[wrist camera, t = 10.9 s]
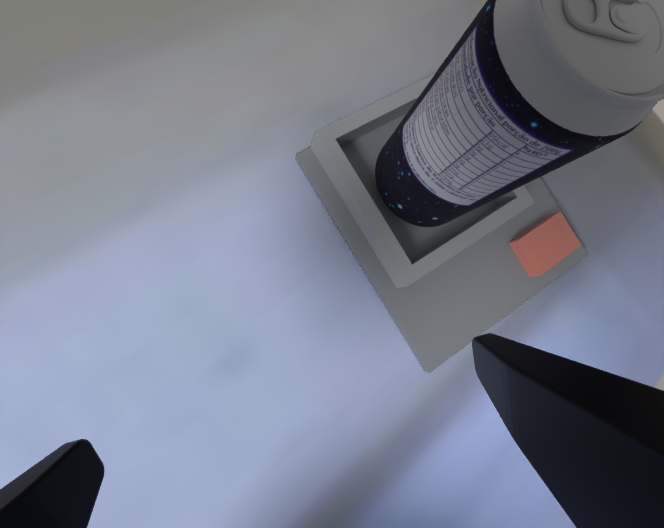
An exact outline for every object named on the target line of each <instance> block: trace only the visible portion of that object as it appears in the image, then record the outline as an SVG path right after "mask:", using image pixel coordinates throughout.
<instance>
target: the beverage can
mask: <svg viewBox="0 0 664 528" xmlns="http://www.w3.org/2000/svg"><path fill="white" fill-rule="evenodd" d="M662 99H664V0H488V1H487V2H486V3H485V5H484V6H483V8H482V9H481V10H480V12H479V13H478V15H477V16H476V17H475V19H474V20H473V22H472V23H471V24H470V26H469V27H468V29H467V30H466V31H465V33H464V34H463V36H462V37H461V38H460V40H459V41H458V43H457V44H456V45H455V47H454V48H453V50H452V51H451V52H450V54H449V55H448V57H447V58H446V59H445V61H444V62H443V64H442V65H441V66H440V68H439V69H438V71H437V72H436V73H435V75H434V76H433V78H432V79H431V80H430V82H429V83H428V85H427V86H426V87H425V89H424V90H423V92H422V93H421V94H420V96H419V97H418V99H417V100H416V101H415V103H414V104H413V106H412V107H411V108H410V110H409V111H408V113H407V114H406V115H405V117H404V118H403V120H402V121H401V122H400V124H399V125H398V127H397V128H396V129H395V131H394V132H393V134H392V135H391V136H390V138H389V139H388V141H387V142H386V143H385V145H384V146H383V148H382V149H381V151H380V153H379V155H378V158H377V161H376V166H375V179H376V185H377V188H378V191H379V194H380V196H381V198H382V200H383V201H384V203H385V204H386V206H387V207H388V208H389V209H390V210H391V211H392V212H393V213H394V214H395V215H396V216H397V217H399V218H400V219H402V220H403V221H405V222H407V223H410V224H412V225H416V226H420V227H436V226H440V225H443V224H446V223H448V222H450V221H452V220H454V219H456V218H458V217H460V216H462V215H464V214H466V213H468V212H470V211H472V210H474V209H476V208H478V207H480V206H482V205H484V204H486V203H488V202H490V201H492V200H494V199H496V198H498V197H500V196H503V195H505V194H507V193H509V192H511V191H513V190H515V189H517V188H519V187H521V186H523V185H525V184H527V183H529V182H531V181H533V180H535V179H537V178H539V177H541V176H543V175H545V174H547V173H549V172H551V171H553V170H555V169H557V168H559V167H561V166H563V165H565V164H567V163H569V162H571V161H573V160H575V159H577V158H580V157H582V156H584V155H586V154H588V153H590V152H592V151H594V150H596V149H598V148H600V147H602V146H604V145H606V144H608V143H610V142H612V141H614V140H616V139H618V138H620V137H622V136H624V135H626V134H627V133H629V132H631V131H632V130H633V129H634V128H636V127H637V126H638V125H639V124H640V123H641V122H642V120H643V119H644V118H645V117H646V116H647V115H648V113H649V112H650V111H651V110H652V108H653V107H654V106H655V104H656V103H657V102H658V101H660V100H662Z"/></svg>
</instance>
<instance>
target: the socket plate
mask: <svg viewBox="0 0 664 528" xmlns="http://www.w3.org/2000/svg"><path fill="white" fill-rule="evenodd" d="M434 75H435V73H434V74H432V75H430V76H428V77H426V78H424V79H422V80H420V81H418V82H416V83H414V84H412V85H410V86H408V87H406V88H404V89H402V90H400V91H397V92H395V93H393V94H391V95H389V96H387V97H385V98H383V99H381V100H379V101H377V102H375V103H373V104H371V105H369V106H367V107H365V108H363V109H360V110H358V111H356V112H354V113H352V114H350V115H348V116H346V117H344V118H342V119H340V120H338V121H336V122H334V123H332V124H330V125H328V126H326V127H324V128H321V129H319V130H317V131H315V132H314V134H313V138H312V142H311V145H310V147H308V148H306V149H304V150H302V151H300V152H298V153H296V157H295V159H296V160H297V162H298V164H299V165H300V167H301V168H302V170H303V172H304V173H305V175H306V177H307V178H308V180H309V182H310V183H311V185H312V187H313V188H314V190H315V191H316V193H317V195H318V196H319V198H320V200H321V201H322V203H323V205H324V206H325V208H326V210H327V211H328V213H329V214H330V216H331V218H332V219H333V221H334V223H335V224H336V226H337V228H338V229H339V231H340V233H341V234H342V236H343V237H344V239H345V241H346V242H347V244H348V246H349V247H350V249H351V251H352V252H353V254H354V256H355V257H356V259H357V260H358V262H359V264H360V265H361V267H362V269H363V270H364V272H365V274H366V275H367V277H368V279H369V280H370V282H371V284H372V285H373V287H374V288H375V290H376V292H377V293H378V295H379V297H380V298H381V300H382V302H383V303H384V305H385V307H386V308H387V310H388V311H389V313H390V315H391V316H392V318H393V320H394V321H395V323H396V325H397V326H398V328H399V330H400V331H401V333H402V334H403V336H404V338H405V339H406V341H407V343H408V344H409V346H410V348H411V349H412V351H413V353H414V354H415V356H416V357H417V359H418V361H419V362H420V364H421V366H422V367H423V369H424V371H426V372H429V373H430V372H431V371H433V370H434V369H435V368H437V367H438V366H439V365H441V364H442V363H443V362H445V361H446V360H447V359H449V358H450V357H451V356H453V355H454V354H455V353H457V352H458V351H459V350H461V349H462V348H463V347H465V346H466V345H467V344H469V343H470V342H471V341H472V339H473V338H474V337H476V336H479V335H481V334H482V333H483V332H485V331H486V330H487V329H489V328H490V327H492V326H493V325H494V324H496V323H497V322H498V321H500V320H501V319H502V318H504V317H505V316H506V315H508V314H509V313H510V312H512V311H513V310H514V309H516V308H517V307H518V306H520V305H521V304H522V303H524V302H525V301H526V300H528V299H529V298H530V297H532V296H533V295H534V294H536V293H537V292H538V291H540V290H541V289H542V288H544V287H545V286H546V285H548V284H549V283H550V282H552V281H553V280H555V279H556V278H557V277H559V276H560V275H561V274H563V273H564V272H565V271H567V270H568V269H569V268H571V267H572V266H573V265H575V264H576V263H577V262H579V261H580V260H581V259H583V258H584V257H585V256H587V255H588V253H587V251H586V250H585V248H584V247H583V245H582V243H581V242H580V240H579V239H578V237H577V235H576V234H575V232H574V231H573V229H572V227H571V226H570V224H569V223H568V221H567V219H566V218H565V216H564V215H563V213H562V211H561V210H560V208H559V207H558V205H557V203H556V202H555V200H554V199H553V197H552V195H551V194H550V192H549V190H548V189H547V187H546V186H545V184H544V182H543V181H542V179H541V178H540V177H539V178H537V179H535V180H533V181H531V182H529V183H527V184H525V185H523V186H521V187H519V188H517V189H515V190H513V191H511V192H509V193H507V194H505V195H503V196H500V197H498V198H496V199H494V200H492V201H490V202H488V203H486V204H484V205H482V206H480V207H478V208H476V209H474V210H472V211H470V212H468V213H466V214H464V215H462V216H460V217H458V218H456V219H454V220H452V221H450V222H448V223H446V224H443V225H440V226H436V227H420V226H416V225H412V224H410V223H407V222H405V221H403V220H402V219H400V218H399V217H397V216H396V215H395V214H394V213H393V212H392V211H391V210H390V209H389V208H388V207H387V206H386V204H385V203H384V201H383V200H382V198H381V196H380V194H379V191H378V188H377V185H376V179H375V166H376V161H377V158H378V155H379V153H380V151H381V149H382V148H383V146H384V145H385V143H386V142H387V141H388V139H389V138H390V136H391V135H392V134H393V132H394V131H395V129H396V128H397V127H398V125H399V124H400V122H401V121H402V120H403V118H404V117H405V115H406V114H407V113H408V111H409V110H410V108H411V107H412V106H413V104H414V103H415V101H416V100H417V99H418V97H419V96H420V94H421V93H422V92H423V90H424V89H425V87H426V86H427V85H428V83H429V82H430V80H431V79H432V78H433V76H434Z"/></svg>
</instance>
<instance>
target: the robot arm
mask: <svg viewBox="0 0 664 528" xmlns="http://www.w3.org/2000/svg"><path fill="white" fill-rule="evenodd" d="M472 348H473V356H474V363H475V370H476V373H477V376H478V378H479V380H480V381H481V383H482V385H483V387H484V388H485V390H486V392H487V394H488V396H489V397H490V399H491V401H492V403H493V404H494V406H495V408H496V410H497V411H498V413H499V415H500V417H501V418H502V420H503V422H504V424H505V425H506V427H507V429H508V431H509V432H510V434H511V436H512V437H513V439H514V440H515V442H516V443H517V445H518V446H519V448H520V449H521V451H522V452H523V454H524V455H525V456H526V458H527V459H528V461H529V462H530V463H531V465H532V466H533V468H534V469H535V470H536V472H537V473H538V474H539V476H540V477H541V479H542V480H543V481H544V483H545V484H546V486H547V487H548V488H549V490H550V491H551V493H552V494H553V495H554V497H555V498H556V500H557V501H558V502H559V504H560V505H561V507H562V508H563V509H564V511H565V512H566V514H567V515H568V516H569V518H570V519H571V521H572V522H573V523H574V525H575V526H576V528H664V391H663V390H659V389H657V388H654V387H651V386H648V385H645V384H642V383H639V382H636V381H633V380H630V379H627V378H624V377H621V376H618V375H615V374H612V373H609V372H606V371H603V370H600V369H597V368H594V367H591V366H588V365H585V364H582V363H579V362H576V361H573V360H570V359H567V358H564V357H561V356H558V355H555V354H552V353H549V352H546V351H543V350H540V349H537V348H534V347H531V346H528V345H525V344H522V343H519V342H516V341H513V340H510V339H507V338H504V337H501V336H498V335H495V334H491V333H488V334H484V335H480V336H476V337H474V338H473V339H472ZM103 477H104V465H103V463H102V461H101V459H100V458H99V456H98V454H97V453H96V451H95V449H94V448H93V446H92V445H91V443H90V442H89V441H88V440H86V439H80V440H76V441H72V442H69V443H66V444H64V445H62V446H61V447H59V448H58V449H57V450H55V451H54V452H52V453H51V454H50V455H48V456H47V457H45V458H44V459H43V460H41V461H40V462H38V463H37V464H35V465H34V466H33V467H31V468H30V469H28V470H27V471H26V472H24V473H23V474H21V475H20V476H19V477H17V478H16V479H14V480H13V481H12V482H10V483H9V484H7V485H6V486H5V487H3V488H2V489H0V528H87V526H88V523H89V520H90V517H91V514H92V511H93V508H94V505H95V502H96V499H97V496H98V493H99V489H100V486H101V483H102V480H103Z"/></svg>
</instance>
